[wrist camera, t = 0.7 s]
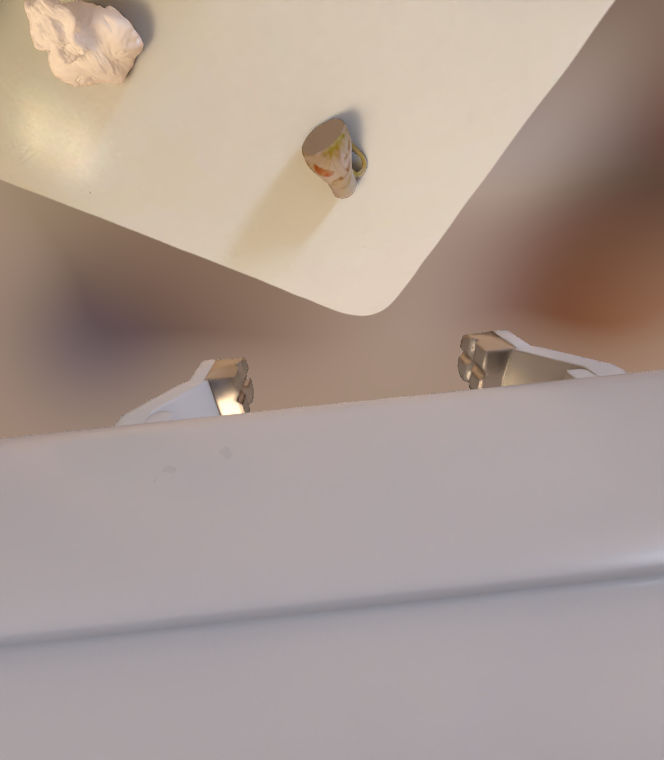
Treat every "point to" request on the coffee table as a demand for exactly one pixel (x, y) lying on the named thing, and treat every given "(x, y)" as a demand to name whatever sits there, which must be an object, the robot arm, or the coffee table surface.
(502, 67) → the coffee table surface
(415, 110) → the coffee table surface
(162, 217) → the coffee table surface
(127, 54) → the bust
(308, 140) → the mug
